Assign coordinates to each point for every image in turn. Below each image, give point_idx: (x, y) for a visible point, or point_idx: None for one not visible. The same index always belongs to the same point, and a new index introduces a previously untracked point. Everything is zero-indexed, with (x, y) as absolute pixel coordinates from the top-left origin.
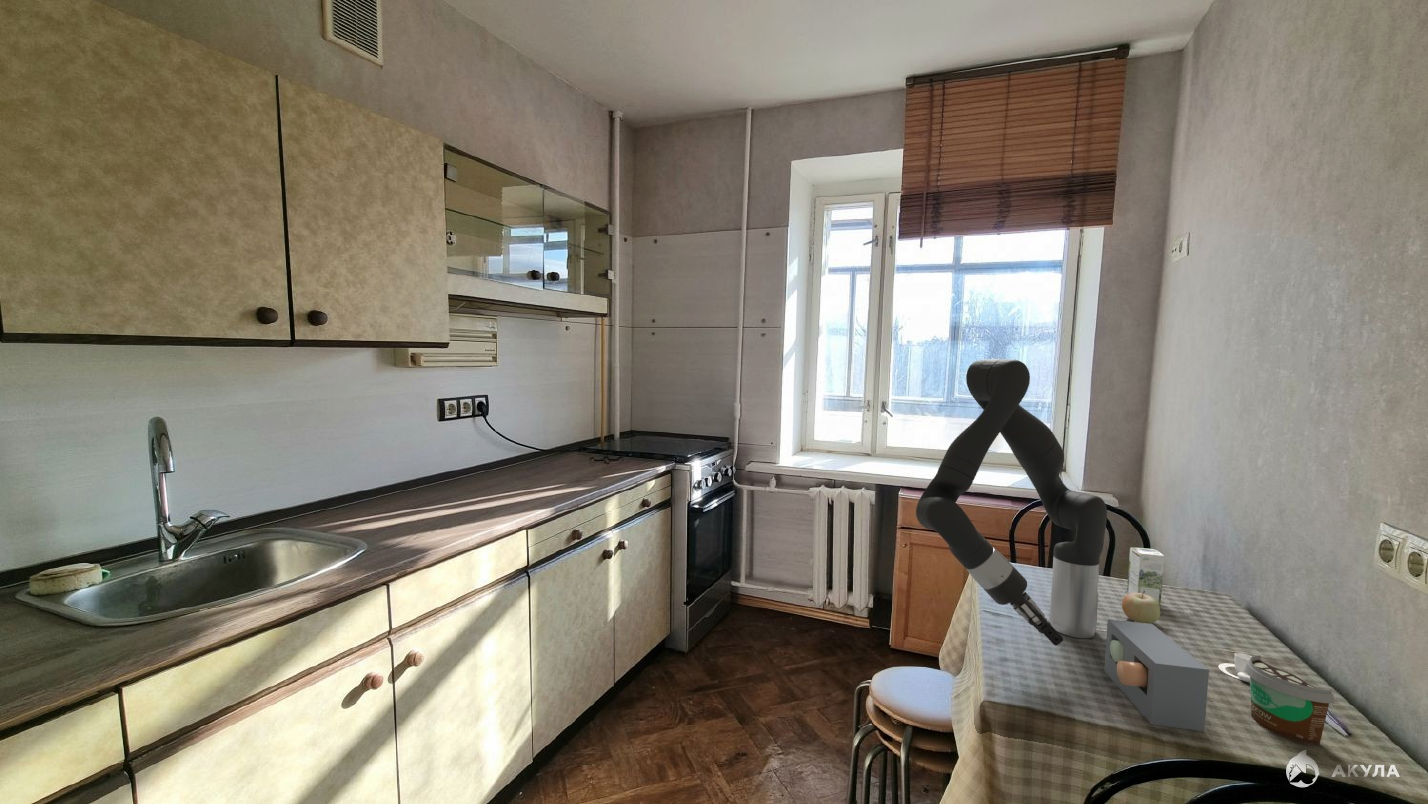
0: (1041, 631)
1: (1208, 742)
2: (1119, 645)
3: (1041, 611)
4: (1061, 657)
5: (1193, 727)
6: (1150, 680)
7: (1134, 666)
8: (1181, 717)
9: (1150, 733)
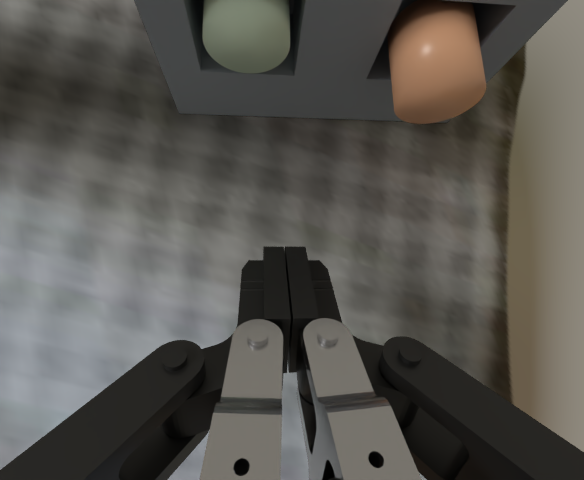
0: (429, 417)
1: None
2: (272, 8)
3: (409, 452)
4: (104, 212)
5: None
6: (506, 39)
7: (473, 45)
8: None
9: (490, 144)
